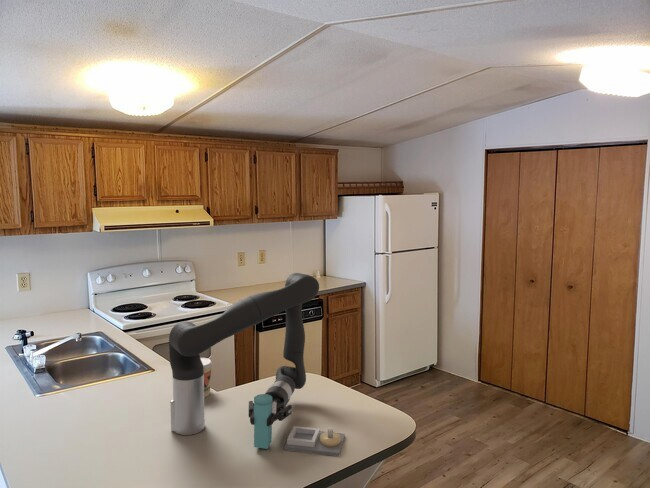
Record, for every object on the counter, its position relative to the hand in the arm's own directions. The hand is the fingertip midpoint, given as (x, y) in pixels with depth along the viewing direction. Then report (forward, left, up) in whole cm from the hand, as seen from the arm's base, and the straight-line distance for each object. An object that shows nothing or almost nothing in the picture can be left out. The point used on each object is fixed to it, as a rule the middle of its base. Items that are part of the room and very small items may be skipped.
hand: (260, 422), depth 140 cm
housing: (+14, +8, -9) cm, 19 cm away
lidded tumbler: (0, +3, -8) cm, 8 cm away
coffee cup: (-34, +33, -9) cm, 48 cm away
